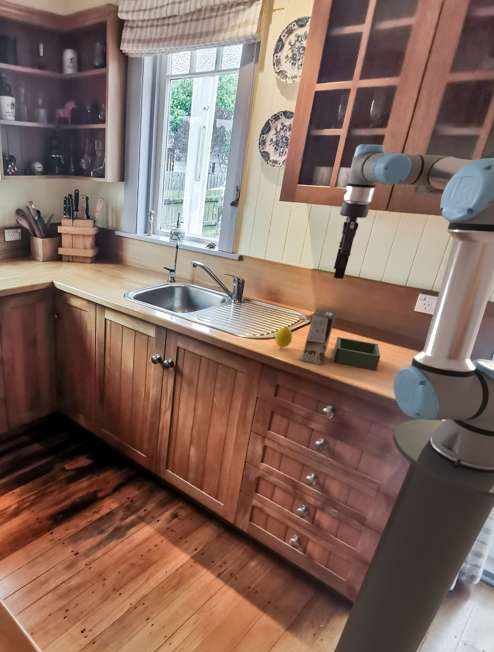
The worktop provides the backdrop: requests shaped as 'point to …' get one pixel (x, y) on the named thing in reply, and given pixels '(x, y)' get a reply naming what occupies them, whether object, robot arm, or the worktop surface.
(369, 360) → the box
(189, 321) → the worktop surface
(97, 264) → the worktop surface
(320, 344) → the coffee box
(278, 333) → the lemon
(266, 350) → the worktop surface
